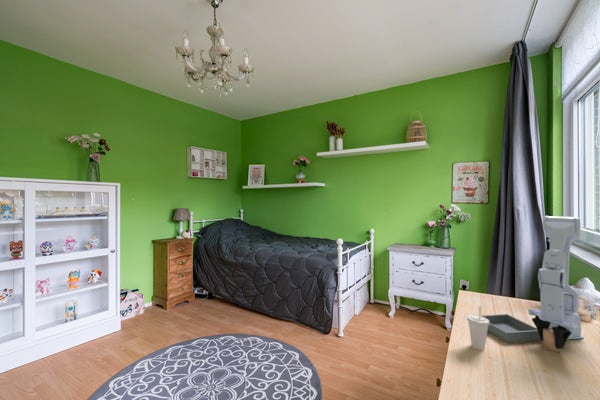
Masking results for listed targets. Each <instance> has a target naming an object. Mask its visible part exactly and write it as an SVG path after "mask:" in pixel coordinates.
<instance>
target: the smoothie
mask: <svg viewBox="0 0 600 400" xmlns="http://www.w3.org/2000/svg"><path fill="white" fill-rule="evenodd" d="M482 316H483V315H482V306H481V305H478V315H475V314H469V315H467V317H466V321H468V328H469V335H470V341H471V347H472V348H474V349H475V350H479V351H484V350H485V349H486V342H487V336H488V331H487V330H488V325H489V324H490V323H489V320H488V319H487V318H484V317H482Z"/></svg>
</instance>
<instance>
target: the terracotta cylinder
mask: <svg viewBox="0 0 600 400" xmlns="http://www.w3.org/2000/svg"><path fill="white" fill-rule="evenodd" d="M542 347H543V348H544V349H546V350H547V351H551V352H555V353H560V352H561V349H557V348H556V346H555V336H554V332H553V329H552V328H543V341H542Z"/></svg>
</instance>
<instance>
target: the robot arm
mask: <svg viewBox="0 0 600 400" xmlns="http://www.w3.org/2000/svg"><path fill="white" fill-rule="evenodd" d="M542 227H543V231H544V234H545V236H546V238H548V239H549V249H547V250H545V251H544V252H543V254H544V255H543V259H542V266H541V268H538V271H537V280H538V286H539V287H538V288H539V290H540V302H539V303H540V307H539V308H540V310H539V309H536V308H533V307H532V308H528V315H531V316H534V317H532V318H531V321H532V322H533V324H534V325H535V326H534V327H535V328H537V330H538V333H539V336H540V339H541V340H540V341H542V342H543V328H552V329H553V332H554V336H555V346H556V348H557V349H562V350H564V348H565V345H566V342H567V340H574V339H575V340H577V339H585V337H584V336H583V335H582V319H581V316H580V314H579V308H580V299H579V295H580V294H579V292H578V291H577V290H576V289H575V288H573V287H572V286H571V285H569V280H570V257H571V246H572V244H573V243H574V242H576V241H579V239H580V237H581V235H580V234H581V218H580V217H578V216H575V217H574V216H553V215H552V216H551V215H550V216H549V215H545V216H544V217H543V221H542Z"/></svg>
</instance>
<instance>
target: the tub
mask: <svg viewBox="0 0 600 400" xmlns="http://www.w3.org/2000/svg"><path fill="white" fill-rule="evenodd" d="M481 316H482V317H484V318H487V319H488V320H489V323H490V324H489V325H488V330H487V333H489V334H491V335H492V336H493V337H496V338H498V339H500V340H501V341H503V342H504V343H506V344H511V343H524V342H525V343H526V342H537V341H540V342H541V341H542V340H541V339H540V336H539V333H538V330H537V328H536V326H534V325H531V324H529V323H527V322H524V321H523V320H520V319H519V318H516V317H514V316H513V315H510V314H508V313H503V314H501V313H500V314H487V315H486V314H485V315H481Z"/></svg>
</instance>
